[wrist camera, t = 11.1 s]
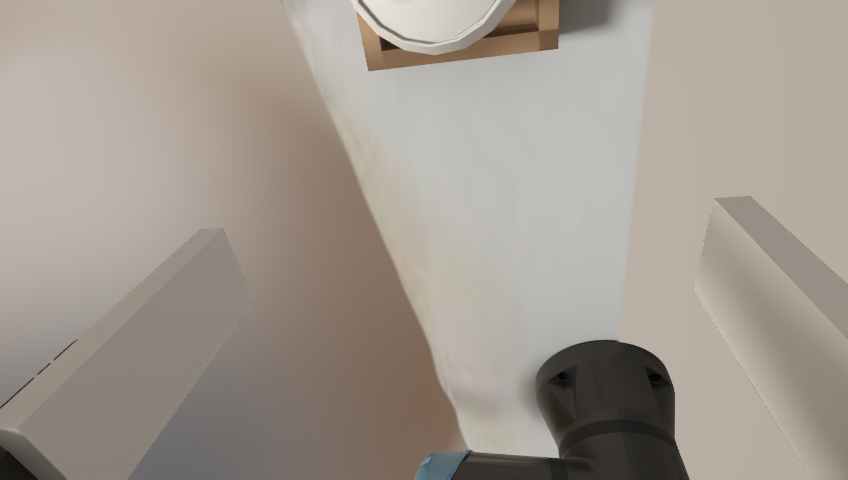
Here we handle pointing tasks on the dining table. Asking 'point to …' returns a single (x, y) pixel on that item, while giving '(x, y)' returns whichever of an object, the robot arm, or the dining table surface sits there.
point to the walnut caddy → (516, 33)
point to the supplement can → (432, 22)
